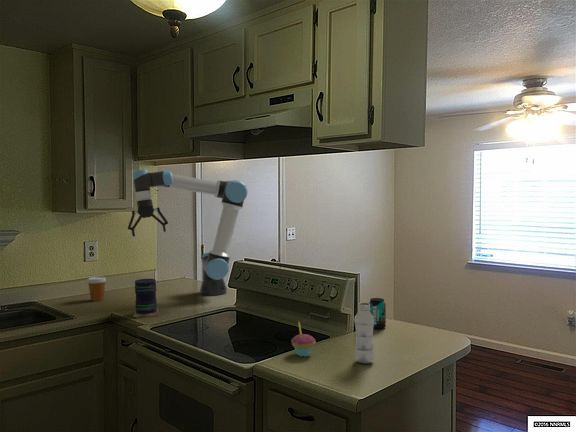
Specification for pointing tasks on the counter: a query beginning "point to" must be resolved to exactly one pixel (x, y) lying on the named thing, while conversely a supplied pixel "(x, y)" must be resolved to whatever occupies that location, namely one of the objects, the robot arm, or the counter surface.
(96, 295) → the disposable coffee cup
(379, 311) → the beverage can
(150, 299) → the storage jar
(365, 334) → the plastic bottle
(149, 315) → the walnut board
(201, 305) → the counter surface
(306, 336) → the cupcake
